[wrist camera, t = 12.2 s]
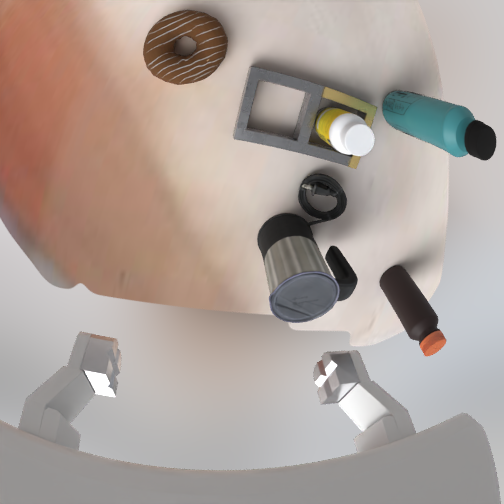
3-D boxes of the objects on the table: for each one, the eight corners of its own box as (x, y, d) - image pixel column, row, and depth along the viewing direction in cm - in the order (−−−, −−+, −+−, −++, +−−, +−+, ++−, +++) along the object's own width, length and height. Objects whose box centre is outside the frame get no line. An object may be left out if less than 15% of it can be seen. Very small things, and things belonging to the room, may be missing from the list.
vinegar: (381, 293, 58) (419, 364, 42) (376, 274, 54) (420, 349, 38) (406, 279, 57) (448, 346, 40) (403, 260, 53) (452, 330, 37)
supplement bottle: (307, 133, 37) (331, 151, 29) (321, 100, 34) (350, 109, 26) (338, 147, 38) (368, 168, 30) (352, 115, 35) (387, 129, 27)
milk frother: (258, 262, 49) (271, 328, 37) (248, 178, 40) (262, 229, 28) (335, 251, 50) (367, 309, 38) (340, 168, 40) (388, 213, 28)
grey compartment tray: (249, 67, 30) (251, 66, 28) (368, 104, 34) (377, 107, 32) (233, 135, 36) (234, 139, 34) (348, 163, 40) (356, 169, 37)
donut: (154, 12, 24) (147, 6, 21) (233, 17, 26) (235, 10, 23) (141, 83, 30) (133, 83, 27) (218, 88, 32) (218, 88, 29)
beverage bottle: (388, 134, 37) (477, 185, 21) (368, 100, 34) (464, 133, 18) (414, 114, 35) (507, 156, 19) (396, 80, 32) (496, 104, 16)
